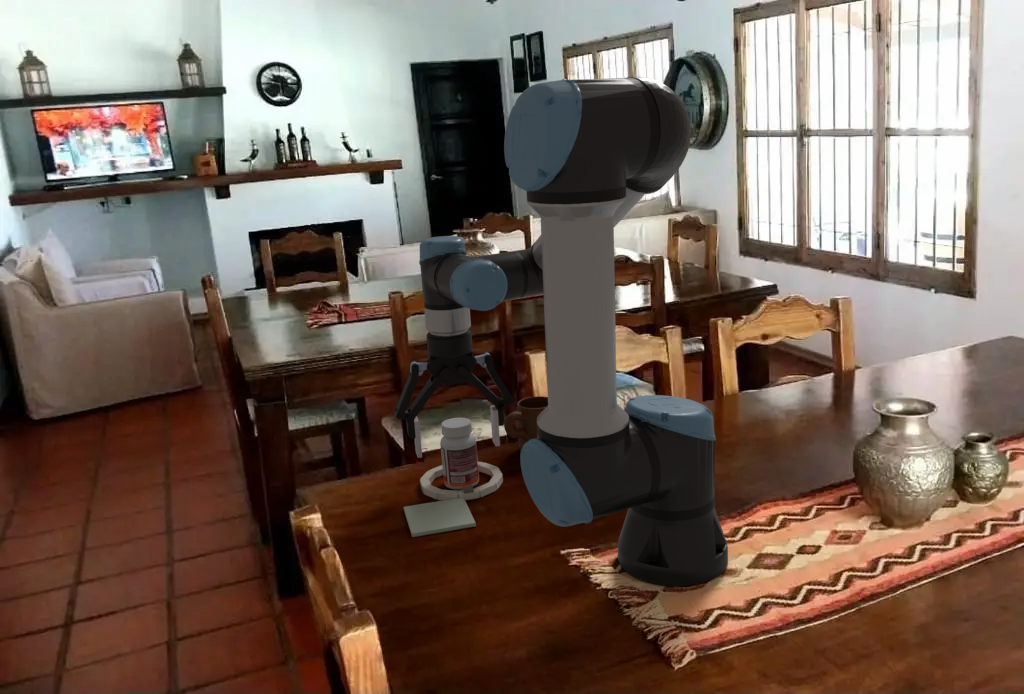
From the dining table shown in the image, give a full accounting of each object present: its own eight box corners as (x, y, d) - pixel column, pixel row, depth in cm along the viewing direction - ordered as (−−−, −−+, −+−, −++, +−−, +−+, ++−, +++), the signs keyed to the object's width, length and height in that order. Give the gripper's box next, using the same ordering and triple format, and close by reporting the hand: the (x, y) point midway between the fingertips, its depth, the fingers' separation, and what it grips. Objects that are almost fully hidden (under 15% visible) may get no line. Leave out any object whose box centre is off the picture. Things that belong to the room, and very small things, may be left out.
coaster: (475, 526, 135) (475, 522, 135) (412, 537, 133) (411, 533, 133) (463, 500, 144) (463, 497, 144) (403, 510, 142) (403, 506, 142)
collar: (510, 492, 146) (509, 483, 146) (428, 506, 143) (427, 496, 143) (491, 462, 159) (491, 453, 159) (416, 474, 156) (415, 465, 156)
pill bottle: (486, 482, 151) (481, 421, 148) (459, 494, 147) (454, 431, 144) (463, 473, 155) (458, 414, 153) (436, 484, 151) (431, 423, 149)
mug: (522, 467, 156) (519, 418, 154) (493, 457, 162) (490, 410, 159) (567, 447, 164) (565, 400, 162) (538, 439, 170) (536, 393, 167)
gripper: (515, 317, 150) (522, 431, 156) (371, 333, 145) (383, 451, 151) (526, 326, 143) (533, 446, 149) (375, 344, 138) (388, 467, 144)
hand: (458, 449), depth 150 cm, fingers open, 13 cm apart
